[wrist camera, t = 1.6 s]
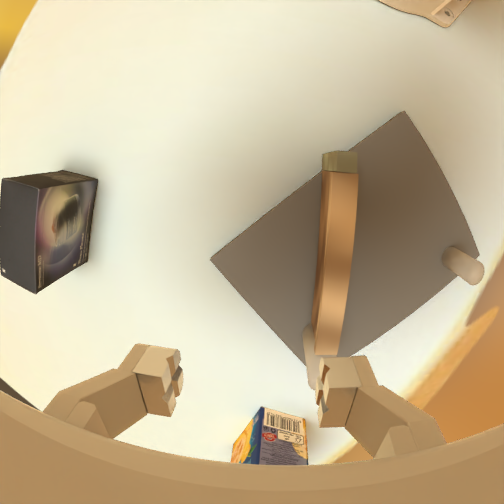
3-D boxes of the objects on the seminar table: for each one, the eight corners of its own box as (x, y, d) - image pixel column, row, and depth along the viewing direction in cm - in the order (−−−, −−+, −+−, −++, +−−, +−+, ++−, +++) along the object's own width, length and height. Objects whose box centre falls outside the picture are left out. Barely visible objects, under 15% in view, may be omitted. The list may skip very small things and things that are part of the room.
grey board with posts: (400, 112, 25) (444, 96, 16) (475, 252, 28) (520, 278, 19) (212, 256, 31) (188, 292, 22) (315, 371, 34) (323, 424, 25)
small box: (90, 264, 32) (36, 299, 22) (53, 249, 32) (-1, 276, 22) (101, 178, 29) (38, 189, 19) (61, 168, 29) (-1, 177, 19)
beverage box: (233, 444, 40) (213, 562, 19) (261, 406, 36) (248, 552, 15) (272, 454, 40) (265, 569, 19) (305, 418, 37) (312, 556, 16)
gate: (327, 321, 30) (337, 357, 24) (308, 320, 30) (315, 357, 24) (340, 155, 25) (360, 152, 19) (319, 153, 26) (333, 150, 19)
